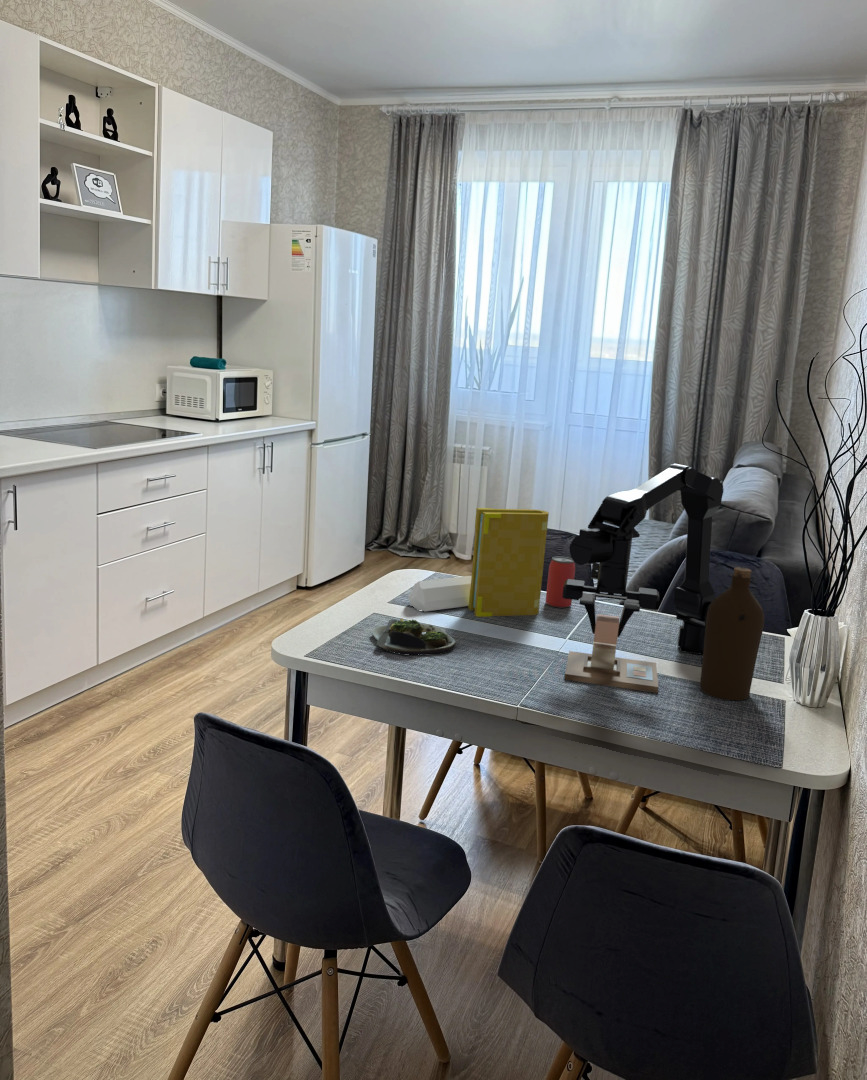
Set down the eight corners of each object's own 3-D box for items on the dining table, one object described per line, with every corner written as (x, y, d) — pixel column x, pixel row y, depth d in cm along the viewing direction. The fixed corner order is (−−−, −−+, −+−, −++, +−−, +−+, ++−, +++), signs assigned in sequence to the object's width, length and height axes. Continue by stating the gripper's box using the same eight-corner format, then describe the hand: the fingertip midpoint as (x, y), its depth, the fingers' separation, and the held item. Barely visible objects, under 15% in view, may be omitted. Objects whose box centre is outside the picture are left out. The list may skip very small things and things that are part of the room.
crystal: (423, 601, 208) (504, 591, 221) (410, 579, 212) (490, 571, 225) (413, 622, 212) (492, 611, 226) (400, 601, 217) (479, 591, 230)
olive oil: (764, 699, 173) (784, 575, 167) (721, 704, 169) (740, 577, 163) (726, 679, 182) (744, 561, 177) (685, 683, 178) (702, 563, 173)
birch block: (613, 664, 183) (615, 643, 182) (613, 671, 178) (615, 650, 177) (591, 661, 183) (593, 640, 182) (590, 668, 179) (592, 647, 178)
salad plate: (356, 628, 198) (357, 608, 197) (432, 625, 204) (433, 606, 203) (381, 659, 180) (382, 637, 179) (463, 654, 186) (464, 634, 185)
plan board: (655, 668, 186) (656, 659, 185) (657, 692, 172) (659, 683, 172) (568, 656, 189) (569, 647, 189) (564, 679, 176) (565, 669, 175)
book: (476, 616, 212) (485, 513, 206) (468, 608, 218) (476, 508, 212) (542, 615, 216) (553, 514, 211) (532, 607, 223) (542, 509, 217)
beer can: (563, 610, 222) (568, 563, 219) (540, 604, 226) (545, 558, 223) (575, 605, 227) (581, 559, 224) (553, 599, 231) (558, 554, 228)
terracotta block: (616, 637, 181) (619, 616, 180) (616, 644, 177) (619, 623, 176) (594, 634, 182) (596, 614, 181) (593, 641, 178) (596, 620, 177)
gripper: (661, 556, 182) (652, 629, 185) (569, 546, 185) (562, 617, 189) (663, 569, 171) (653, 646, 175) (566, 558, 175) (558, 633, 178)
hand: (605, 634), depth 179 cm, fingers closed on terracotta block, 4 cm apart
